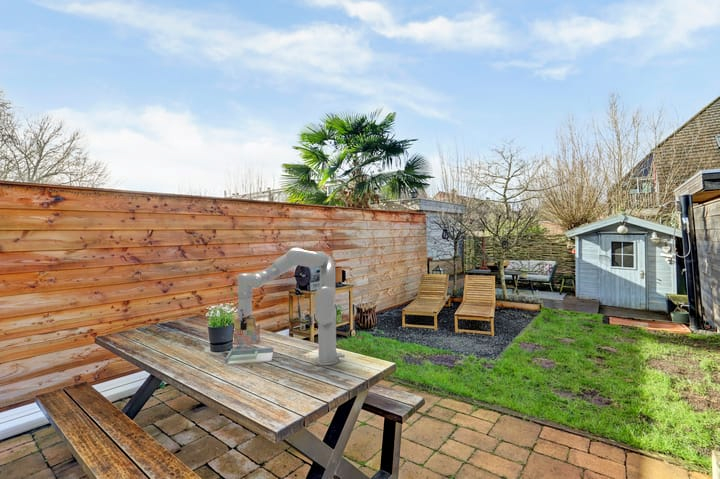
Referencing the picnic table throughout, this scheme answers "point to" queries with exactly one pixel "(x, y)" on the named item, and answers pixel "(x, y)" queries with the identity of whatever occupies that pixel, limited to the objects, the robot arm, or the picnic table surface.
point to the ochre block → (250, 323)
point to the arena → (249, 356)
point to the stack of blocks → (247, 336)
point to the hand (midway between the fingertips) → (245, 328)
